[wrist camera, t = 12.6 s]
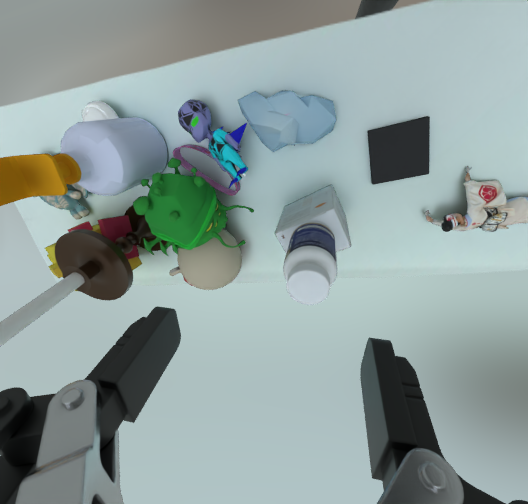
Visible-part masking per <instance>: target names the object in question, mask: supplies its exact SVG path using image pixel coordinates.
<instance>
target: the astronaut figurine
mask: <svg viewBox="0 0 528 504" xmlns="http://www.w3.org/2000/svg"><path fill="white" fill-rule="evenodd" d="M82 118H83V122H85V121H96V120H107V119H118V118H119V117H118V115H117V114H116V112H115V111H114V110H113V109H112V108H111V107H110V106H109V105H108V104H106V103H105V102H102V101H92V102H90V103H88V104H87V105H86V106H85V108H84V109H83V110H82Z"/></svg>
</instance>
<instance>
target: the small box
mask: <svg viewBox="0 0 528 504" xmlns="http://www.w3.org/2000/svg"><path fill="white" fill-rule="evenodd" d="M312 221H314V222H320V223H323V224H325V225H326V226H328V227H329V228H330V229H331V230H332V232H333V234H334V236H335V241H336V252H338V251H340V250H343V249H346V248H349V247H351V241H350V236H349V230H348V225H347V220H346V215H345V213H344V211H343V208H342V206H341V204H340V201H339V199H338V197H337V195H336V192H335V190H334V188H333V186H332V185H329V186H327V187H325V188H323V189H321V190H319V191H317V192H315V193H313V194H310V195H308V196H306V197H304V198H302V199H300V200H298V201H296V202H293V203H291V204H289V205H287V206H285V207H284V210H283V212H282V215H281V218H280V220H279V223H278V226H277V228H276V231H275V235H276V237H277V238H278V240H279V242H280V244H281V245H282V247H283V249H284V251H285V252H286V254H287V250H288V246H289V242H290V238H291V236H292V233H293V232H294V230H295V229H296V228H297V227H298V226H300V225H301V224H303V223H306V222H312Z"/></svg>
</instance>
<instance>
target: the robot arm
mask: <svg viewBox="0 0 528 504" xmlns="http://www.w3.org/2000/svg"><path fill="white" fill-rule="evenodd" d="M180 339H181V333H180V328H179V324H178V319H177V315H176V311H175V310H174V309H171V308H164V307H155V308H154V309H153V310H152V311H151V313H150V314H149V315H148V316H147V318H146V317H142V318H140V319H139V320H137V321H136V322H135V323H133V324H132V325H131V326H130V327H129V328H128V329H127V330H126V331H125V333H124V334H123V336H122V337H120V339H119V340H118V341H117V342H116V345H114V346H113V347H112V348H111V349H110V350H109V352H108V353H107V354H106V355H105V356H104V357H103V359H102V360H101V361H100V362H99V363H98V365H97V366H96V367H95V368H94V369H93V370H92V372H91V373H90V374H89V375H88V376H87V377H86V378H85V379H84V380H79V381H75V382H73V383H70V384H68V385H67V386H65V387H64V388H62V389H61V390H60V391H59V392H57V393H56V394H49V395H42V396H34V397H30V396H29V395H28V394H27V392H26V391H25V390H24V389H22V388H11V389H6V390H3V391H1V392H0V455H1V456H0V504H124V503H123V499H122V495H121V490H120V472H119V432H118V428H119V426H120V424H121V423H122V421H123V420H124V421H129V422H133V423H134V422H135V420H136V418H137V416H138V415H139V413H140V411H141V410H142V408H143V406H144V405H145V403H146V401H147V399H148V398H149V396H150V394H151V393H152V391H153V389H154V388H155V386H156V384H157V382H158V381H159V379H160V377H161V376H162V374H163V372H164V371H165V369H166V367H167V366H168V364H169V362H170V360H171V359H172V357H173V355H174V354H175V352H176V350H177V348H178V346H179V344H180ZM361 386H362V394H363V403H364V412H365V421H366V429H367V438H368V447H369V455H370V464H371V473H372V478H373V479H378V480H382V481H383V488H384V492H383V494H382V496H381V498H380V499H379V501H378V503H377V504H505V503H503V502H501V501H499V500H498V499H496V498H494V497H492V496H490V495H488V494H486V493H485V492H483V491H481V490H479V489H477V488H475V487H473V486H472V485H470V484H469V483H467V482H466V481H465V480H463V479H462V478H461V477H460V476H459V475H458V474H457V473H456V472H455V470H454V469H453V468H452V466H451V465H450V464H449V463H448V462H447V461H446V460H445V458H444V457H443V455H442V453H441V450H440V448H439V445H438V441H437V438H436V435H435V432H434V429H433V426H432V423H431V419H430V416H429V413H428V410H427V407H426V403H425V401H424V400H423V398H424V397H423V394H422V391H421V388H420V384H419V381H418V378H417V375H416V372H415V370H414V369H413V367H412V366H411V365H410V363H409V362H408V361H407V359H406V358H404V357H398V356H395V354H394V350H393V347H392V343H391V341H389V340H382V339H375V338H369V339H368V342H367V345H366V349H365V352H364V356H363V360H362V364H361ZM509 504H528V502H527V501H523V500H515V501H512V502H511V503H509Z"/></svg>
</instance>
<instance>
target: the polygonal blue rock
mask: <svg viewBox="0 0 528 504" xmlns="http://www.w3.org/2000/svg"><path fill="white" fill-rule="evenodd" d="M238 102H239V105H240V108H241V111H242V114H243V115H244V116H245V118H246V119H247V121H248V122H249V124H250V125H251V127H252V128H253V130H254V131H255V132H256V134H257V135H258V137H259V138H260V140H261V141H262V143H263V144H264V145H266V146H267V147H268V148H269V149H270V150H271V151H272V152H275V151H276V150H278V149H280V148H282V147H284V146H286V145H288V144H291V145H295V143H314V142H316V141H317V140H319V139H320V138H322V137H324V136H325V135H327V134H328V133H330V132H331V131H332V130H333V127H334V124H335V122H336V115H335V110H334V104H333V101H331V100H328V99H324V98H321V97H317V96H314V95H310V96H306V97H302V98H299V97H298V96H297V95H296V94H295V93H294V92H293V91H280V92H278V93H276V94H274V95H273V96H271V97H269V98H267V99H266V98H265V97H263V96H262V95H260V94H259V93H257V92H256V91H254V92H252V93H250V94H249V95H247V96H245V97H243V98H241V99H239V100H238Z"/></svg>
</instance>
